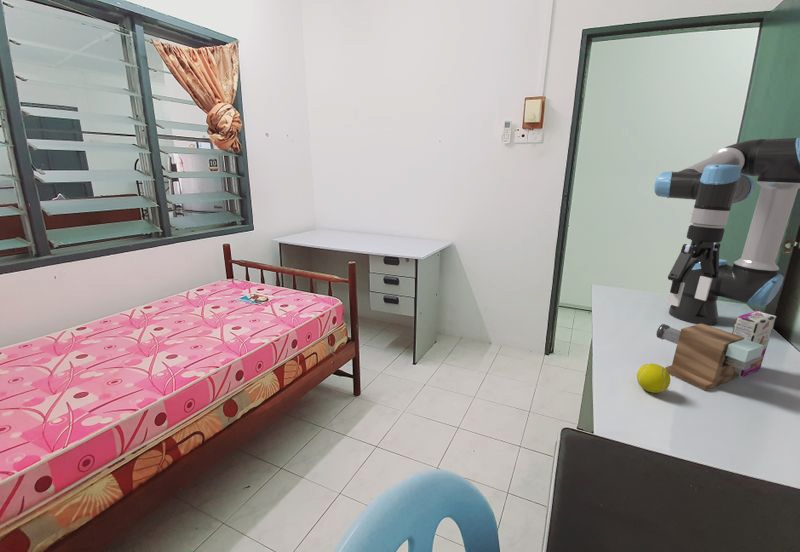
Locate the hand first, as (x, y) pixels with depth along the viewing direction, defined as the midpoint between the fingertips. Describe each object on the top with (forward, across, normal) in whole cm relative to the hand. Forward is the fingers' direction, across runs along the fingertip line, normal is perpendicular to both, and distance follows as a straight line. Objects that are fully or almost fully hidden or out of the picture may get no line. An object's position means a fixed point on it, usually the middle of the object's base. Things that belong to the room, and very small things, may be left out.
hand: (686, 302), depth 107 cm
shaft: (+13, 0, +6) cm, 14 cm away
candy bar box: (+19, -15, +10) cm, 26 cm away
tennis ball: (+19, +20, +6) cm, 29 cm away
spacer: (+9, 0, +15) cm, 18 cm away
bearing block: (+19, 0, +8) cm, 20 cm away
